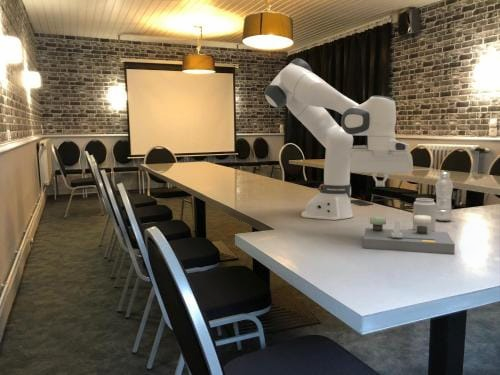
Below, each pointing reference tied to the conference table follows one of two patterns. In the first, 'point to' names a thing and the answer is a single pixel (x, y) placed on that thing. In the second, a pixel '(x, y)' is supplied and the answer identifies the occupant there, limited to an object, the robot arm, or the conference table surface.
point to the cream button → (422, 219)
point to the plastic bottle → (443, 197)
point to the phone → (360, 202)
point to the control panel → (408, 240)
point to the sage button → (377, 220)
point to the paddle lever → (397, 229)
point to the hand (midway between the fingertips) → (380, 186)
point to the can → (424, 212)
